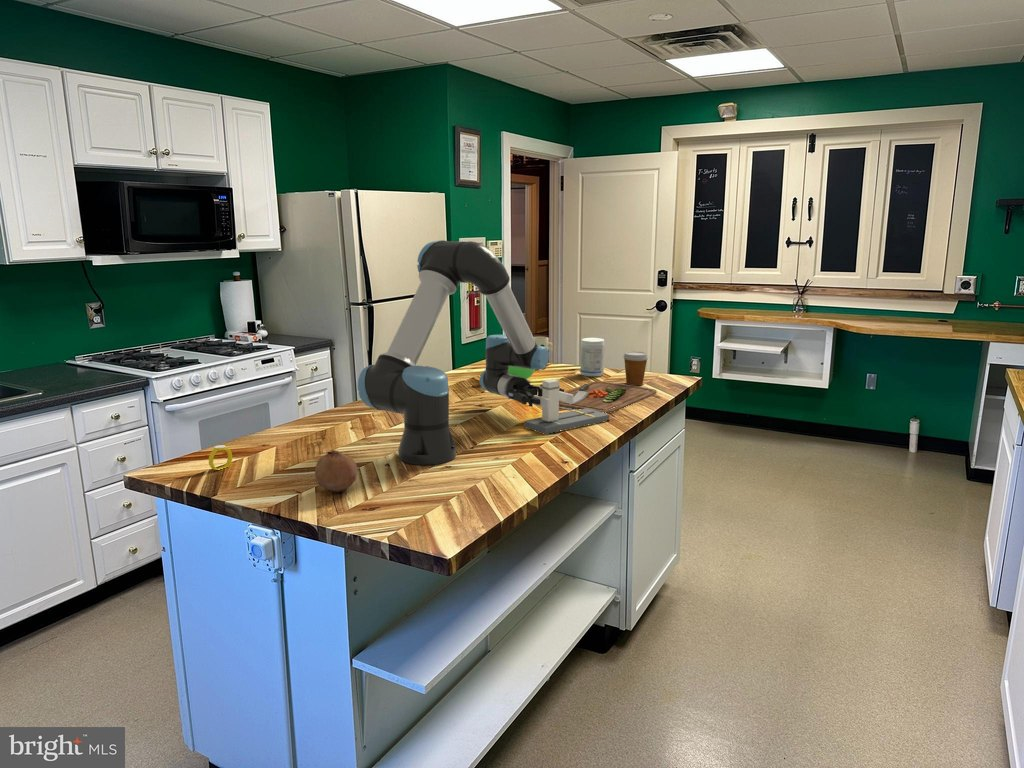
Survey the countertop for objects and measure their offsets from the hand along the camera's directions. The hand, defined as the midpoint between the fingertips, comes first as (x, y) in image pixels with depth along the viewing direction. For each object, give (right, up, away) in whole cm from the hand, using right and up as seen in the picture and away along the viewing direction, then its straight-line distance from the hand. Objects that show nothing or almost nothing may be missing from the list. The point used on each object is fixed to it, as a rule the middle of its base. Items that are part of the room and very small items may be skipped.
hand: (560, 401), depth 210 cm
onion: (-54, -20, -47) cm, 75 cm away
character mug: (-2, +12, +96) cm, 97 cm away
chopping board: (+18, 0, +44) cm, 47 cm away
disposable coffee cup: (+33, +5, +66) cm, 74 cm away
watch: (-87, -16, -32) cm, 94 cm away
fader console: (+3, -7, +10) cm, 12 cm away
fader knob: (-3, -6, +5) cm, 8 cm away
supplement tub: (+18, +9, +82) cm, 85 cm away
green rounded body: (-13, +6, +70) cm, 72 cm away
